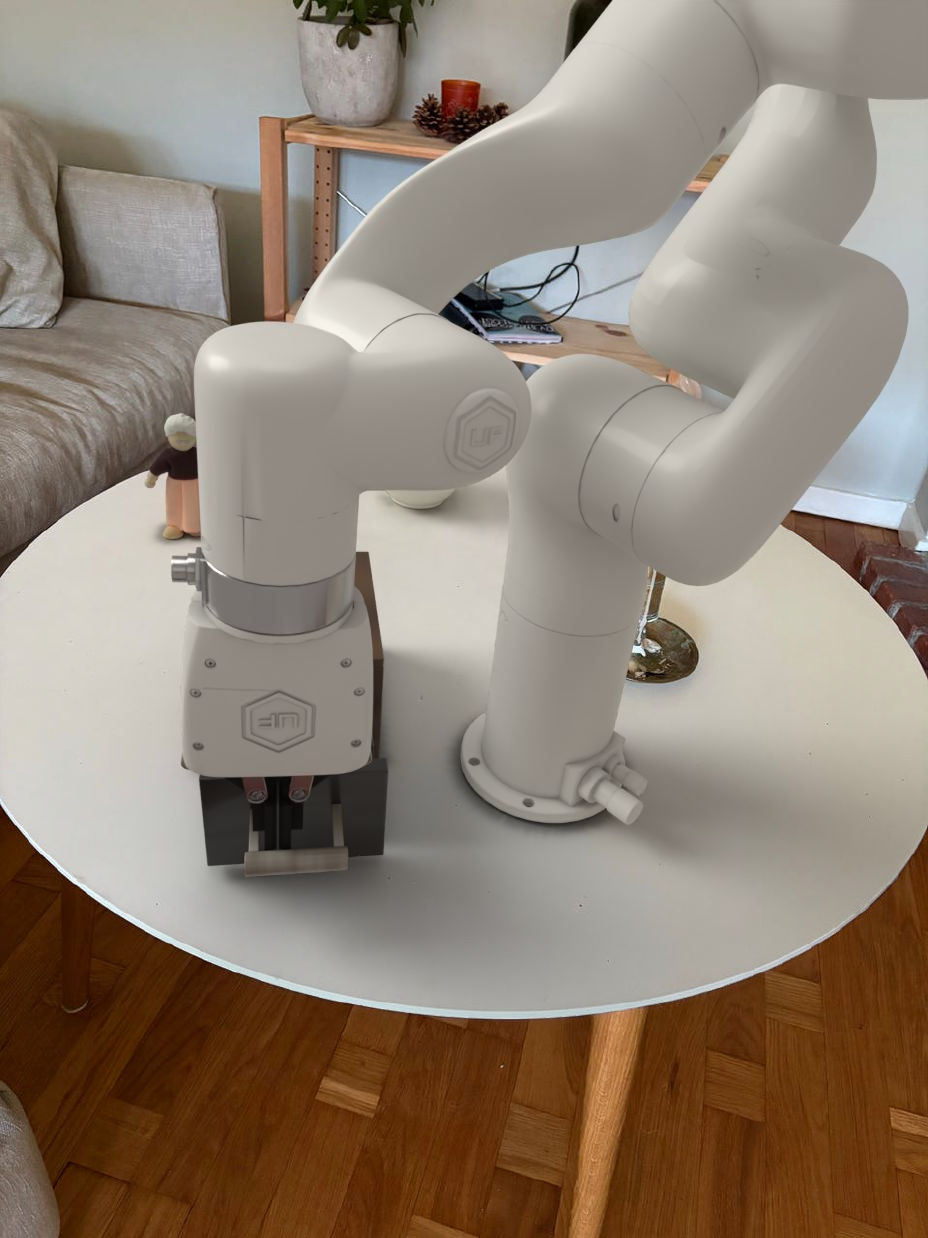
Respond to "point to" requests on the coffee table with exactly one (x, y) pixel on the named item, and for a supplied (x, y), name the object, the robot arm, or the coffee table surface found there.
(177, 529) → the grandmother figurine
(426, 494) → the trinket box
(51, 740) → the coffee table surface
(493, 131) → the robot arm
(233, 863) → the pull-out drawer
